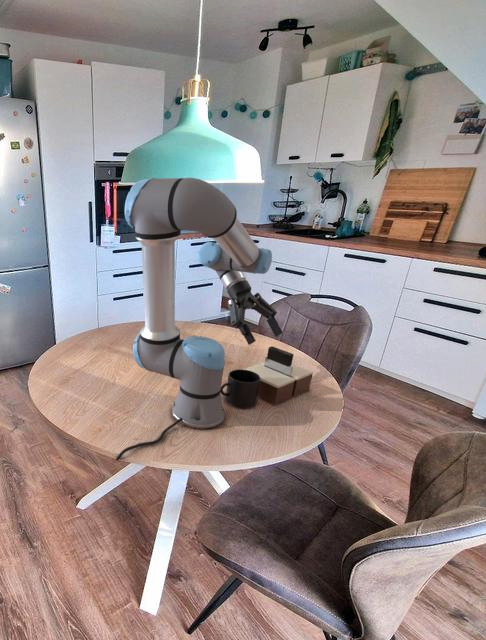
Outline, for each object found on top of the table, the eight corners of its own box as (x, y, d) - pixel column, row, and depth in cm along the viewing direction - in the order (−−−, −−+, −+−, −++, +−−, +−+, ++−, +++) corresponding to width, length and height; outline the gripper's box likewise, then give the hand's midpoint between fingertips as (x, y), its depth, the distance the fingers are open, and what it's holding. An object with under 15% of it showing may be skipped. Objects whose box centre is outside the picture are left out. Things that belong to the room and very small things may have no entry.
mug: (213, 395, 126) (215, 370, 123) (247, 392, 128) (251, 368, 124) (224, 410, 118) (228, 384, 114) (261, 407, 119) (266, 381, 116)
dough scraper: (286, 390, 125) (293, 356, 120) (260, 378, 133) (266, 346, 128) (289, 388, 126) (296, 355, 121) (264, 377, 134) (269, 345, 129)
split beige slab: (274, 405, 121) (278, 386, 118) (239, 387, 131) (241, 369, 129) (309, 390, 129) (313, 371, 126) (273, 374, 140) (276, 357, 137)
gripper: (253, 286, 143) (281, 336, 137) (203, 296, 131) (232, 351, 125) (267, 274, 137) (298, 326, 131) (217, 283, 125) (248, 341, 119)
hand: (266, 338), depth 128 cm, fingers open, 13 cm apart
